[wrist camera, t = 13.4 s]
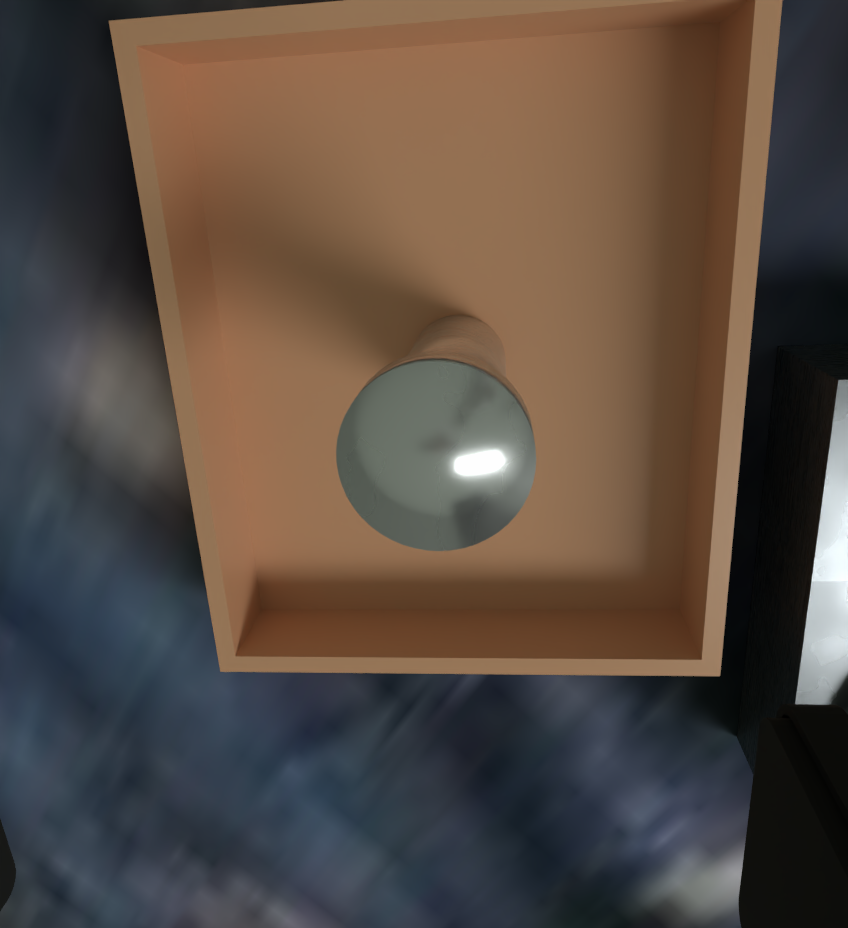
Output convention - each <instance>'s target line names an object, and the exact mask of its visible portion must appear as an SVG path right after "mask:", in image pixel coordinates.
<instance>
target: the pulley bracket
mask: <svg viewBox="0 0 848 928" xmlns="http://www.w3.org/2000/svg"><path fill="white" fill-rule="evenodd" d="M783 704H816V705H838V706H840V707H842V708H843V709H844V711H845V712H846V713H847V714H848V344H830V345H801V346H778V349H777V358H776V368H775V378H774V387H773V397H772V406H771V416H770V426H769V435H768V445H767V454H766V464H765V474H764V483H763V493H762V502H761V512H760V522H759V531H758V541H757V550H756V560H755V570H754V579H753V589H752V598H751V608H750V618H749V627H748V637H747V646H746V656H745V666H744V675H743V685H742V694H741V704H740V714H739V723H738V733H737V738H738V741H739V743H740V745H741V747H742V750H743V752H744V754H745V757H746V759H747V761H748V763H749V766H750V768H751V770H752V773H753V775H754V768H755V760H756V751H757V743H758V735H759V727H760V723H761V721H762V719H763V718H776V715H777V711H778V709H779V707H780V706H781V705H783Z"/></svg>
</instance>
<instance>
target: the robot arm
mask: <svg viewBox="0 0 848 928" xmlns="http://www.w3.org/2000/svg"><path fill="white" fill-rule="evenodd" d="M15 877H16V868H15V863H14V860H13V857H12V854H11V851H10V848H9V845H8V841H7V838H6V835H5V832H4V829H3V826H2V823H1V820H0V911H1V909H2V908H3V906H4V905H5V903H6V902H7V900H8V898H9V896H10V895H11V892H12V889H13V887H14V882H15ZM739 915H740V922H741V927H742V928H848V714H847V713H846V712H845V711H844V709H843V708H842V707H840V706H838V705H816V704H783V705H781V706H780V707H779V709H778V711H777V715H776V718H763V719H762V721H761V723H760V727H759V735H758V743H757V751H756V760H755V768H754V776H753V785H752V793H751V801H750V810H749V818H748V826H747V835H746V843H745V851H744V860H743V868H742V876H741V885H740V893H739Z"/></svg>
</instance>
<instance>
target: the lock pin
mask: <svg viewBox="0 0 848 928" xmlns="http://www.w3.org/2000/svg"><path fill="white" fill-rule="evenodd" d="M336 463H337V469H338V475H339V478H340V481H341V484H342V487H343V489H344V492H345V494H346V496H347V498H348V500H349V501H350V503H351V504H352V506H353V508H354V509H355V510H356V511H357V513H358V514H359V515H360V516H361V518H362V519H364V520H365V521H366V522H367V523H368V524H369V525H370V526H371V527H372V528H374V529H375V530H376V531H378V532H379V533H380V534H382V535H384V536H385V537H387V538H389V539H391V540H393V541H395V542H397V543H400V544H402V545H405V546H408V547H412V548H416V549H421V550H427V551H450V550H457V549H462V548H466V547H469V546H472V545H476V544H478V543H480V542H482V541H484V540H487V539H488V538H490V537H492V536H493V535H495V534H496V533H498V532H499V531H500V530H502V529H503V528H504V527H505V526H507V525H508V524H509V523H510V522H511V520H512V519H513V518H514V517H515V516H516V515H517V514H518V512H519V511H520V509H521V508H522V507H523V505H524V503H525V501H526V499H527V497H528V495H529V493H530V490H531V487H532V484H533V480H534V476H535V470H536V449H535V441H534V434H533V428H532V423H531V418H530V415H529V413H528V410H527V407H526V405H525V403H524V401H523V399H522V397H521V396H520V394H519V393H518V391H517V390H516V389H515V387H514V386H513V385H512V384H511V383H510V381H509V380H508V379H507V378H506V359H505V351H504V348H503V345H502V342H501V340H500V338H499V337H498V335H497V334H496V332H495V331H494V330H493V329H492V328H491V327H490V326H489V325H487V324H486V323H484V322H483V321H481V320H479V319H477V318H475V317H471V316H467V315H450V316H445V317H442V318H440V319H438V320H436V321H434V322H432V323H431V324H430V325H428V326H427V327H426V328H425V329H424V330H423V331H422V332H421V334H420V335H419V337H418V338H417V340H416V342H415V344H414V346H413V347H412V349H411V351H410V353H409V355H407V356H404V357H402V358H399V359H397V360H395V361H393V362H391V363H390V364H388V365H386V366H385V367H383V368H382V369H381V370H379V371H378V372H377V373H376V374H375V375H374V376H373V377H372V378H371V379H370V380H369V381H368V382H367V383H366V384H365V386H364V387H363V388H362V389H361V391H360V392H359V394H358V395H357V397H356V398H355V399H354V401H353V402H352V404H351V406H350V407H349V409H348V411H347V412H346V414H345V416H344V419H343V421H342V424H341V426H340V430H339V434H338V438H337V447H336Z"/></svg>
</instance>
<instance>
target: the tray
mask: <svg viewBox="0 0 848 928" xmlns="http://www.w3.org/2000/svg"><path fill="white" fill-rule="evenodd" d="M781 9H782V0H343V1H331V2H320V3H308V4H296V5H285V6H273V7H262V8H250V9H239V10H227V11H216V12H204V13H193V14H181V15H170V16H158V17H146V18H135V19H123V20H112V21H109V26H110V31H111V37H112V43H113V49H114V55H115V60H116V66H117V72H118V78H119V84H120V90H121V95H122V101H123V107H124V113H125V119H126V124H127V130H128V136H129V142H130V148H131V154H132V159H133V165H134V171H135V177H136V183H137V188H138V194H139V200H140V206H141V212H142V218H143V223H144V229H145V235H146V241H147V247H148V253H149V258H150V264H151V270H152V276H153V282H154V287H155V293H156V299H157V305H158V311H159V317H160V322H161V328H162V334H163V340H164V346H165V351H166V357H167V363H168V369H169V375H170V381H171V386H172V392H173V398H174V404H175V410H176V415H177V421H178V427H179V433H180V439H181V445H182V450H183V456H184V462H185V468H186V474H187V479H188V485H189V491H190V497H191V503H192V509H193V514H194V520H195V526H196V532H197V538H198V544H199V549H200V555H201V561H202V567H203V573H204V578H205V584H206V590H207V596H208V602H209V608H210V613H211V619H212V625H213V631H214V637H215V642H216V648H217V654H218V660H219V666H220V672H316V673H422V674H528V675H634V676H720V673H721V662H722V651H723V640H724V629H725V618H726V608H727V597H728V586H729V575H730V564H731V553H732V542H733V531H734V520H735V510H736V499H737V488H738V477H739V466H740V455H741V444H742V433H743V423H744V412H745V401H746V390H747V379H748V368H749V357H750V346H751V336H752V325H753V314H754V303H755V292H756V281H757V270H758V259H759V248H760V238H761V227H762V216H763V205H764V194H765V183H766V172H767V161H768V151H769V140H770V129H771V118H772V107H773V96H774V85H775V74H776V63H777V53H778V42H779V31H780V20H781ZM450 315H467V316H471V317H475V318H477V319H479V320H481V321H483V322H484V323H486V324H487V325H489V326H490V327H491V328H492V329H493V330H494V331H495V332H496V334H497V335H498V337H499V338H500V340H501V342H502V345H503V348H504V351H505V359H506V378H507V379H508V380H509V381H510V383H511V384H512V385H513V386H514V387H515V389H516V390H517V391H518V393H519V394H520V396H521V397H522V399H523V401H524V403H525V405H526V407H527V410H528V413H529V415H530V418H531V423H532V428H533V434H534V441H535V449H536V470H535V476H534V480H533V484H532V487H531V490H530V493H529V495H528V497H527V499H526V501H525V503H524V505H523V507H522V508H521V509H520V511H519V512H518V514H517V515H516V516H515V517H514V518H513V519H512V520H511V522H510V523H509V524H508V525H507V526H505V527H504V528H503V529H502V530H500V531H499V532H498V533H496V534H495V535H493V536H492V537H490V538H488V539H487V540H484V541H482V542H480V543H478V544H476V545H472V546H469V547H466V548H462V549H457V550H450V551H427V550H421V549H416V548H412V547H408V546H405V545H402V544H400V543H397V542H395V541H393V540H391V539H389V538H387V537H385V536H384V535H382V534H380V533H379V532H378V531H376V530H375V529H374V528H372V527H371V526H370V525H369V524H368V523H367V522H366V521H365V520H364V519H362V518H361V516H360V515H359V514H358V513H357V511H356V510H355V509H354V508H353V506H352V504H351V503H350V501H349V500H348V498H347V496H346V494H345V492H344V489H343V487H342V484H341V481H340V478H339V475H338V469H337V463H336V447H337V438H338V434H339V430H340V426H341V424H342V421H343V419H344V416H345V414H346V412H347V411H348V409H349V407H350V406H351V404H352V402H353V401H354V399H355V398H356V397H357V395H358V394H359V392H360V391H361V389H362V388H363V387H364V386H365V384H366V383H367V382H368V381H369V380H370V379H371V378H372V377H373V376H374V375H375V374H376V373H377V372H378V371H379V370H381V369H382V368H383V367H385V366H386V365H388V364H390V363H391V362H393V361H395V360H397V359H399V358H402V357H404V356H407V355H409V353H410V351H411V349H412V347H413V346H414V344H415V342H416V340H417V338H418V337H419V335H420V334H421V332H422V331H423V330H424V329H425V328H426V327H427V326H428V325H430V324H431V323H432V322H434V321H436V320H438V319H440V318H442V317H445V316H450Z"/></svg>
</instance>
